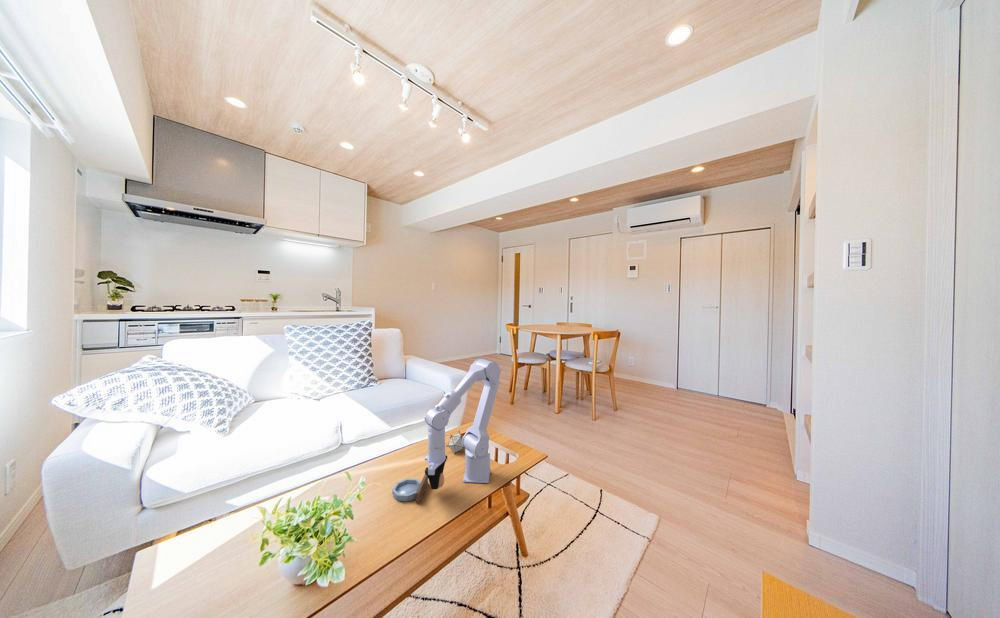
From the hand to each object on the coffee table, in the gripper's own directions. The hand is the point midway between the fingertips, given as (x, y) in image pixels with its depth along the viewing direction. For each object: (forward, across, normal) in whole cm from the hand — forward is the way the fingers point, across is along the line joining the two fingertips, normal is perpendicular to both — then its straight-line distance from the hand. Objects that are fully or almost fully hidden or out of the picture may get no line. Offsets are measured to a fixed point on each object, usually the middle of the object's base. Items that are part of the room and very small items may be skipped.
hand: (436, 483), depth 104 cm
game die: (+4, -28, +2) cm, 29 cm away
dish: (+3, 0, -10) cm, 11 cm away
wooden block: (+3, 0, -5) cm, 6 cm away
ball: (+1, 0, 0) cm, 1 cm away
